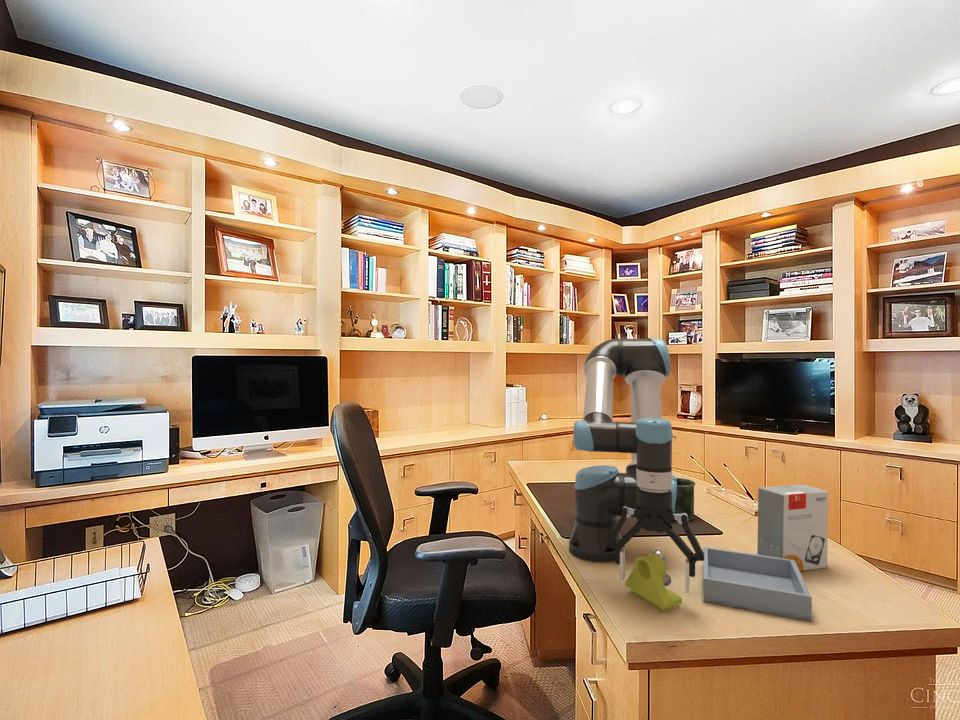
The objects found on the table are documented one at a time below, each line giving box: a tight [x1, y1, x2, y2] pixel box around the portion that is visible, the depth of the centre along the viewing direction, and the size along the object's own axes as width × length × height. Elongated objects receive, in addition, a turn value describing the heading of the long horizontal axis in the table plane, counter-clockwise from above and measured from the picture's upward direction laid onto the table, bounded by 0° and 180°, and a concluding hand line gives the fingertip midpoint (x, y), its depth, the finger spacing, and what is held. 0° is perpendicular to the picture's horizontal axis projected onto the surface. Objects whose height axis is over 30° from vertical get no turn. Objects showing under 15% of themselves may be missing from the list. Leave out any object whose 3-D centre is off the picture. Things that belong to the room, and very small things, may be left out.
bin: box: [702, 546, 813, 622], centre depth 112 cm, size 20×20×5 cm
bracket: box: [625, 553, 683, 612], centre depth 107 cm, size 11×6×10 cm, turn 25°
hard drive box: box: [756, 483, 829, 572], centre depth 125 cm, size 16×8×20 cm, turn 106°
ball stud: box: [651, 549, 672, 586], centre depth 117 cm, size 6×6×7 cm
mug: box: [674, 477, 696, 522], centre depth 163 cm, size 11×15×12 cm
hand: (654, 584), depth 107 cm, fingers open, 13 cm apart
